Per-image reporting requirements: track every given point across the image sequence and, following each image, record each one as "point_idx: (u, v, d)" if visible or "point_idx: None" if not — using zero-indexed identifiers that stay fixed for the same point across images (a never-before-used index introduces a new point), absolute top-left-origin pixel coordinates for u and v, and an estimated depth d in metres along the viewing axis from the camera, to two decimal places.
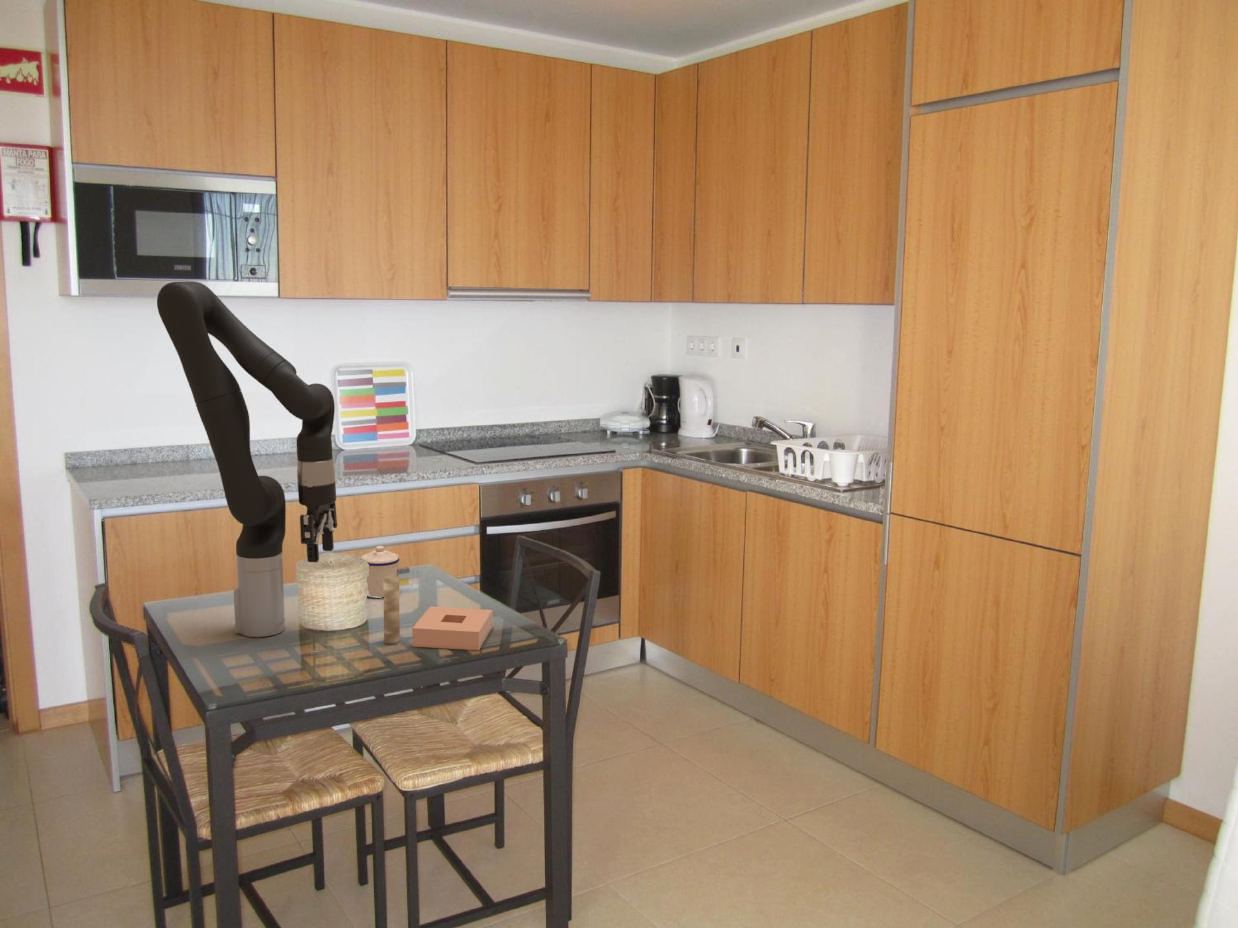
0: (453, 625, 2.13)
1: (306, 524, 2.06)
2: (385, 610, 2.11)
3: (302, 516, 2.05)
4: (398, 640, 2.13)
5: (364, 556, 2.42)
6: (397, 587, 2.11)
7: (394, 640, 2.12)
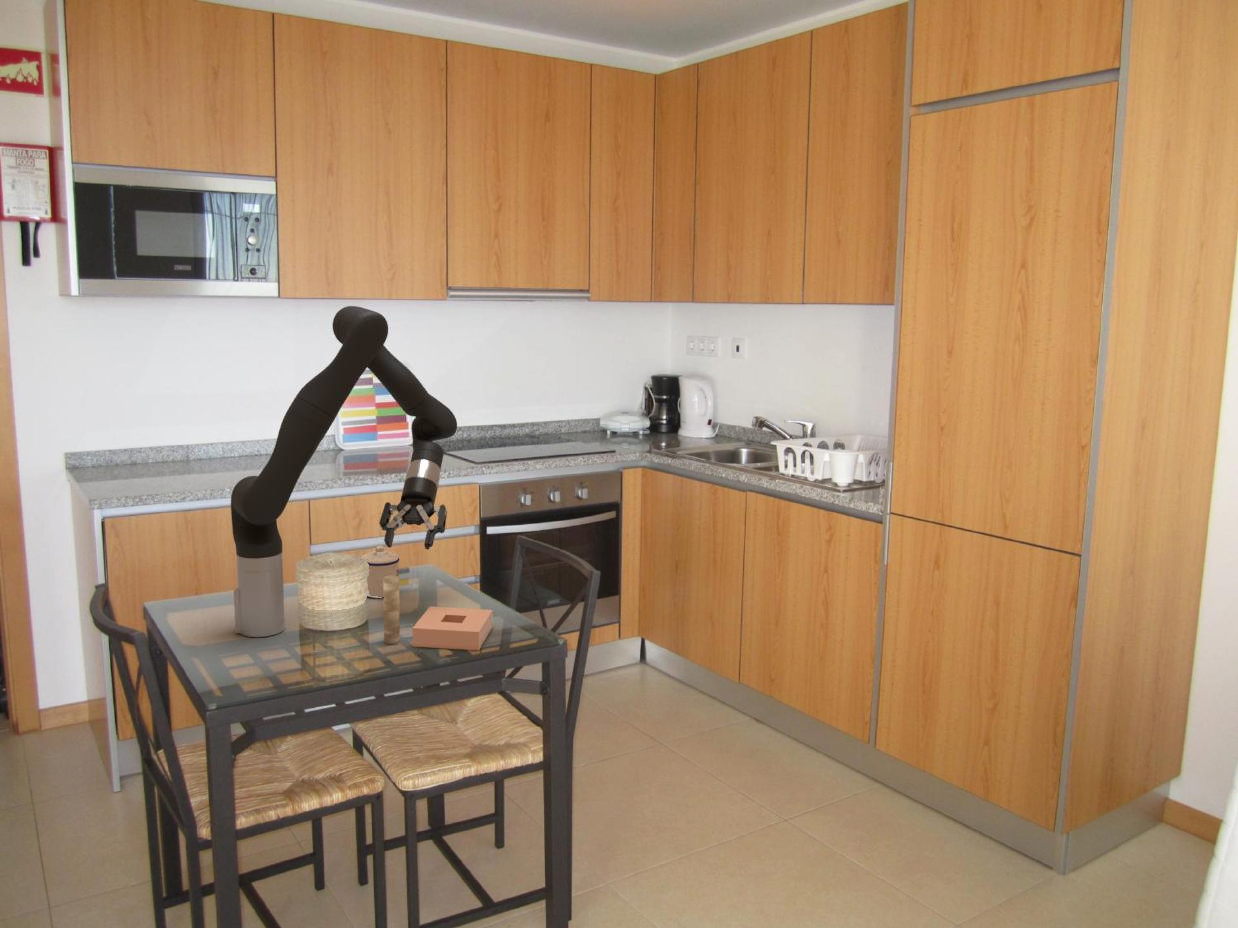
0: (453, 625, 2.13)
1: (444, 514, 2.26)
2: (385, 610, 2.11)
3: (444, 506, 2.26)
4: (398, 640, 2.13)
5: (364, 556, 2.42)
6: (397, 587, 2.11)
7: (394, 640, 2.12)
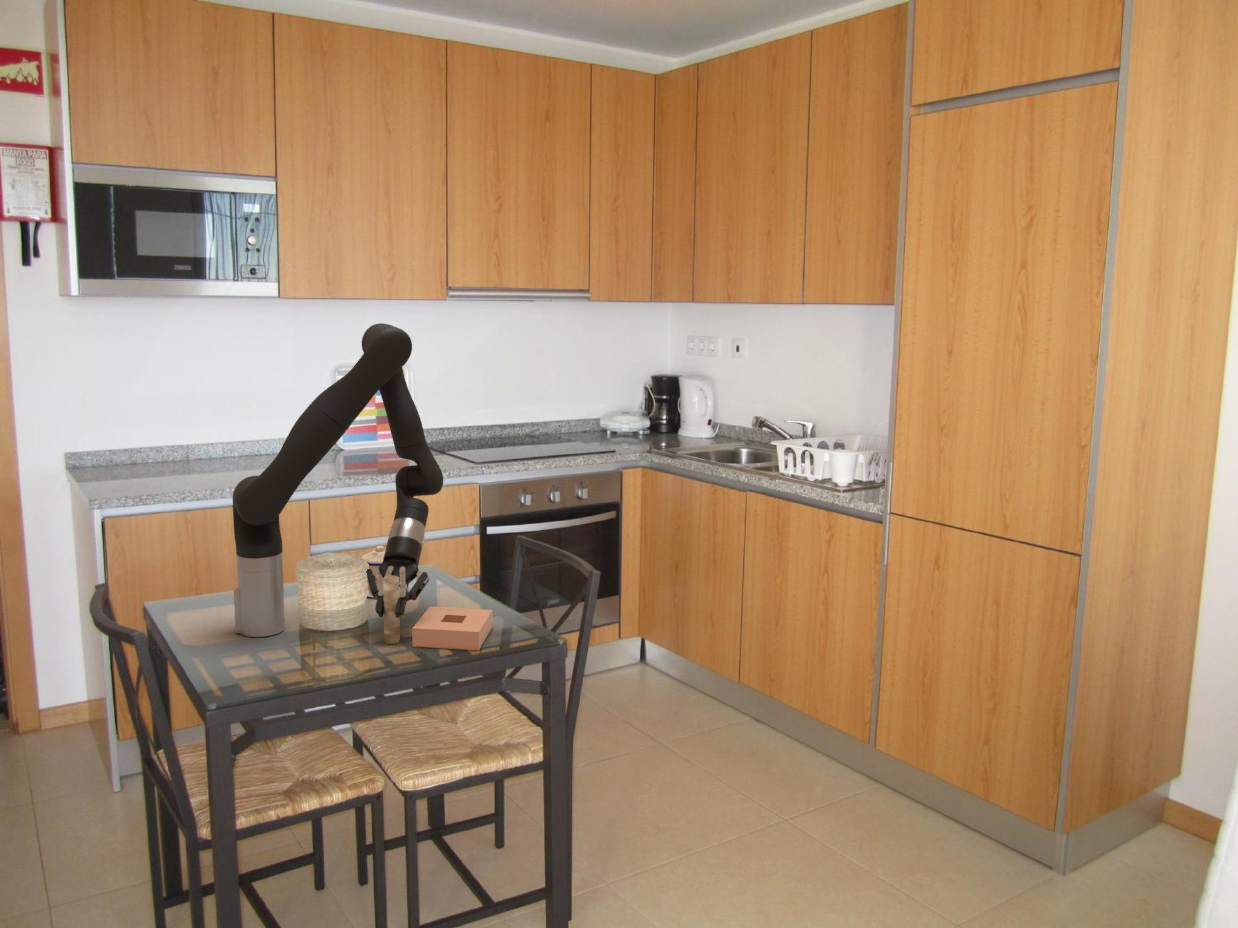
0: (453, 625, 2.13)
1: (423, 582, 2.15)
2: (385, 610, 2.11)
3: (427, 574, 2.15)
4: (398, 640, 2.13)
5: (364, 556, 2.42)
6: (397, 587, 2.11)
7: (394, 640, 2.12)
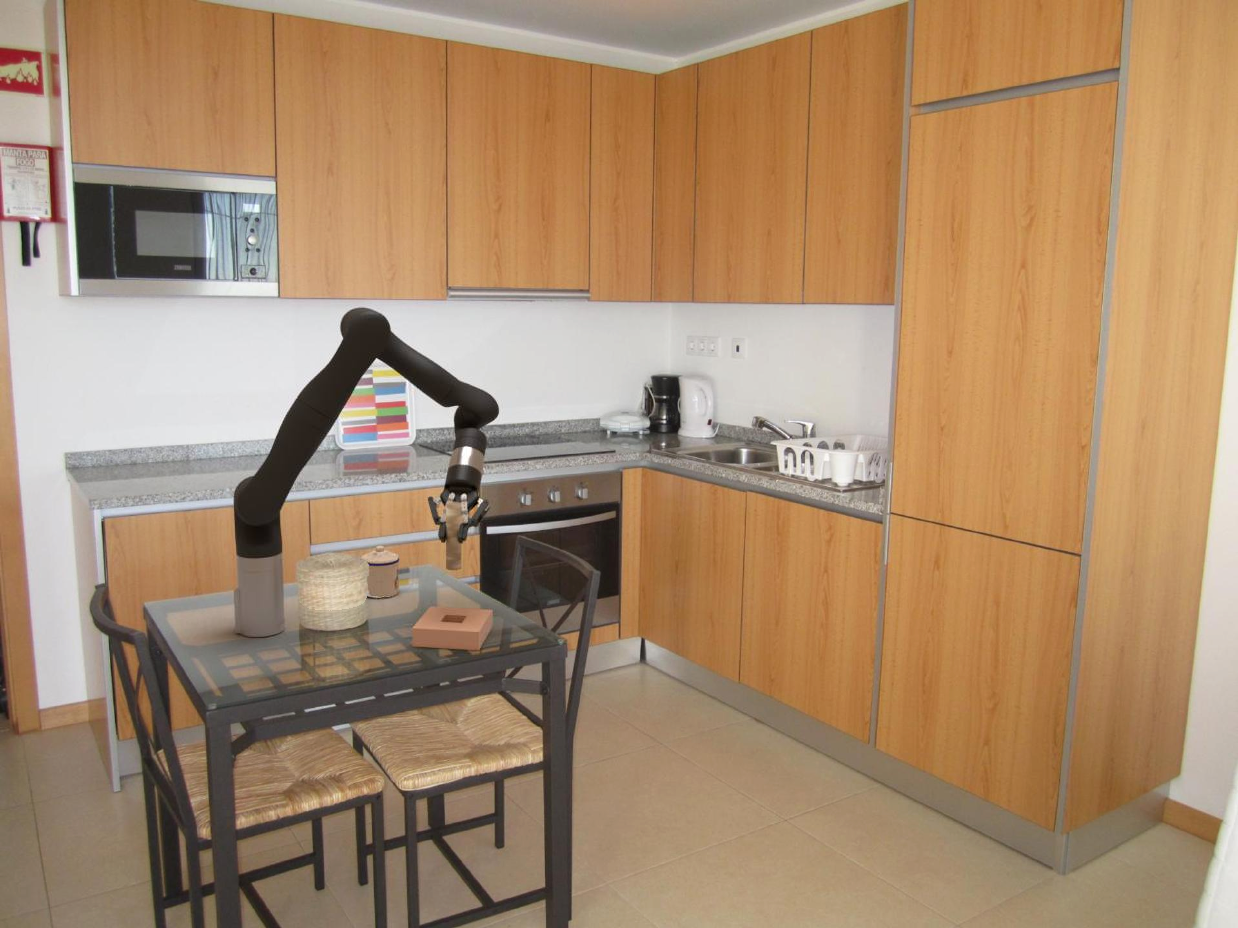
0: (453, 625, 2.13)
1: (485, 509, 2.16)
2: (448, 536, 2.12)
3: (488, 502, 2.16)
4: (460, 566, 2.14)
5: (364, 556, 2.42)
6: (460, 513, 2.12)
7: (456, 566, 2.13)
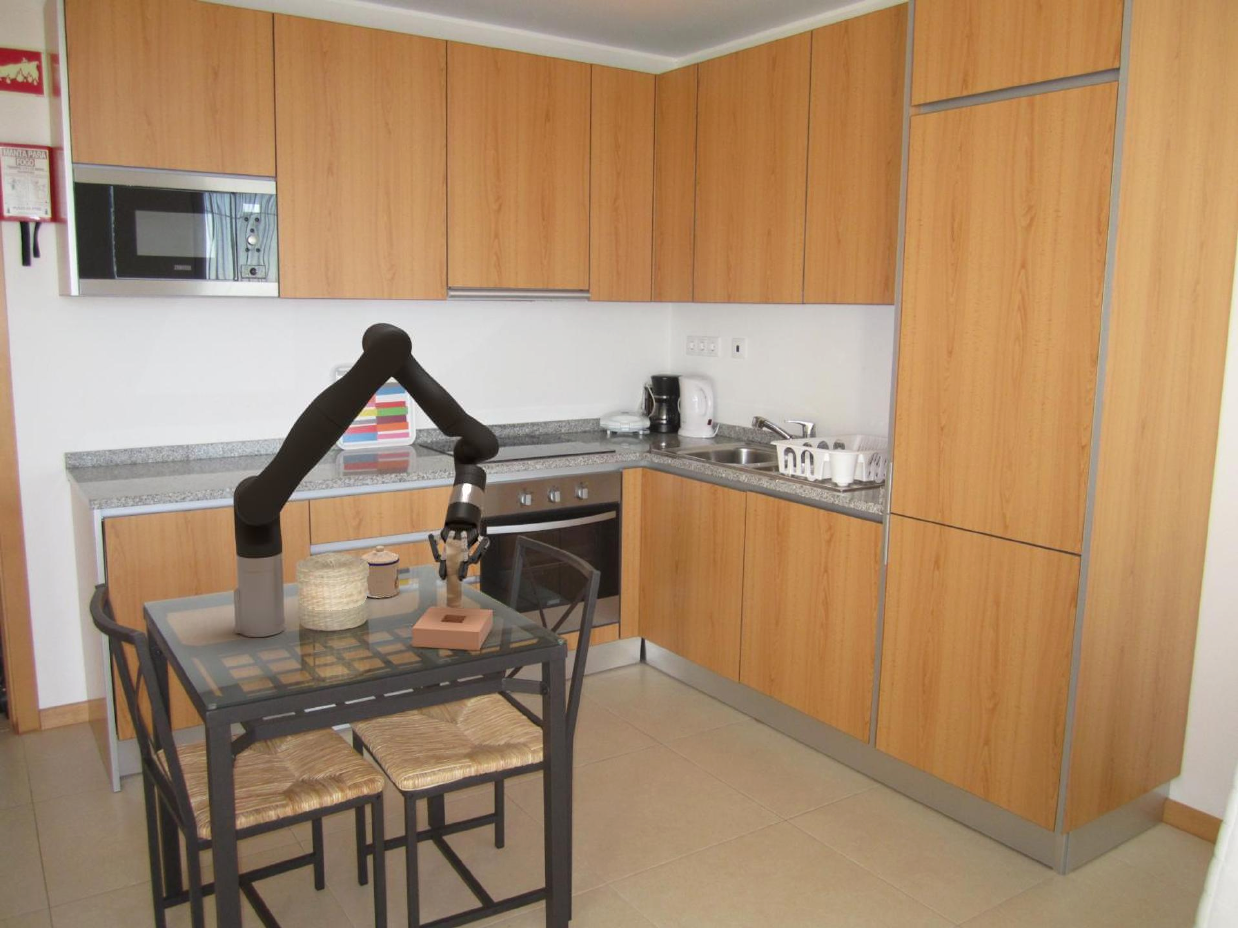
0: (453, 625, 2.13)
1: (485, 547, 2.17)
2: (448, 574, 2.14)
3: (488, 539, 2.17)
4: (460, 603, 2.16)
5: (364, 556, 2.42)
6: (460, 551, 2.14)
7: (457, 603, 2.15)
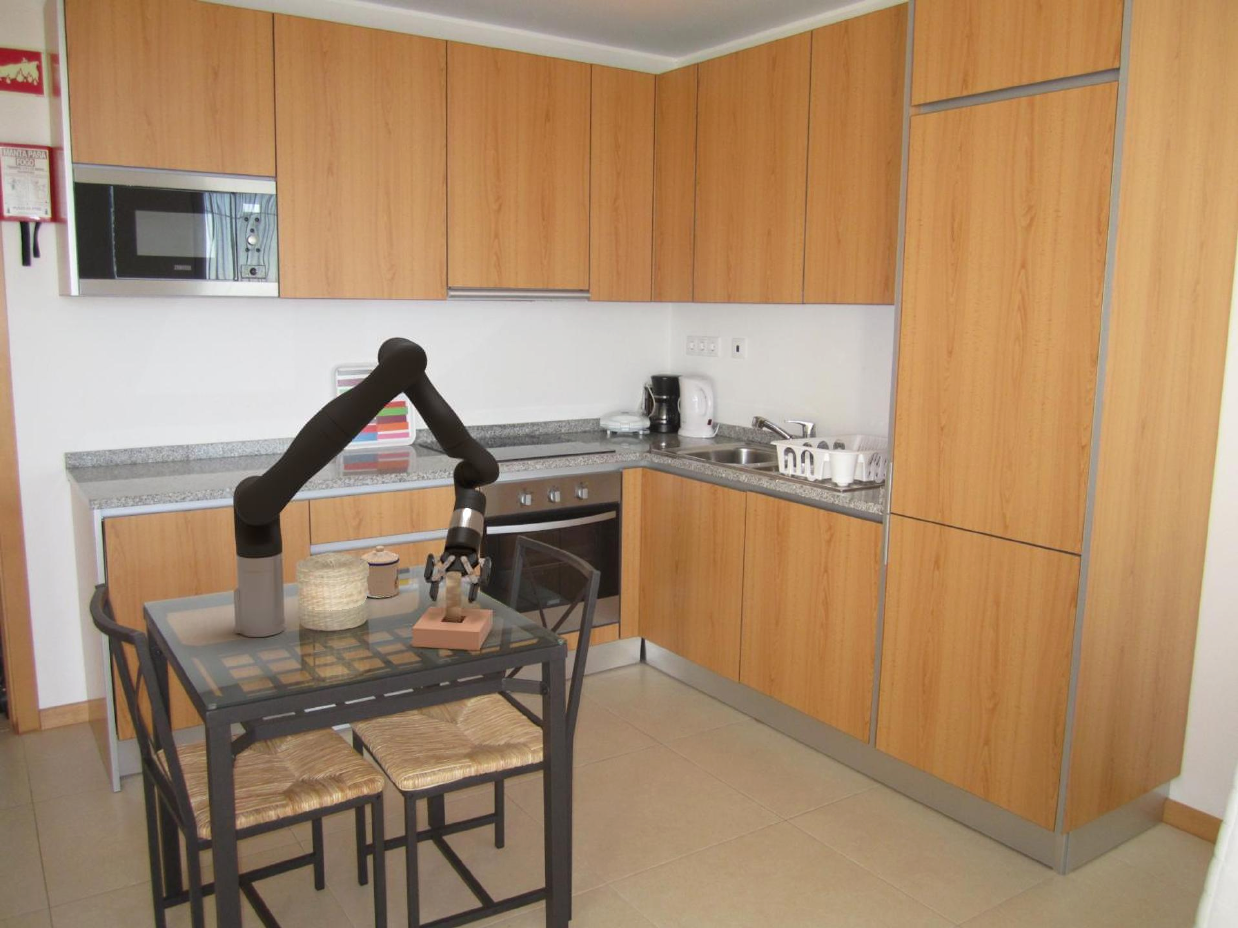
0: (453, 625, 2.13)
1: (489, 567, 2.19)
2: (448, 605, 2.15)
3: (489, 558, 2.19)
4: None
5: (364, 556, 2.42)
6: (459, 583, 2.15)
7: None
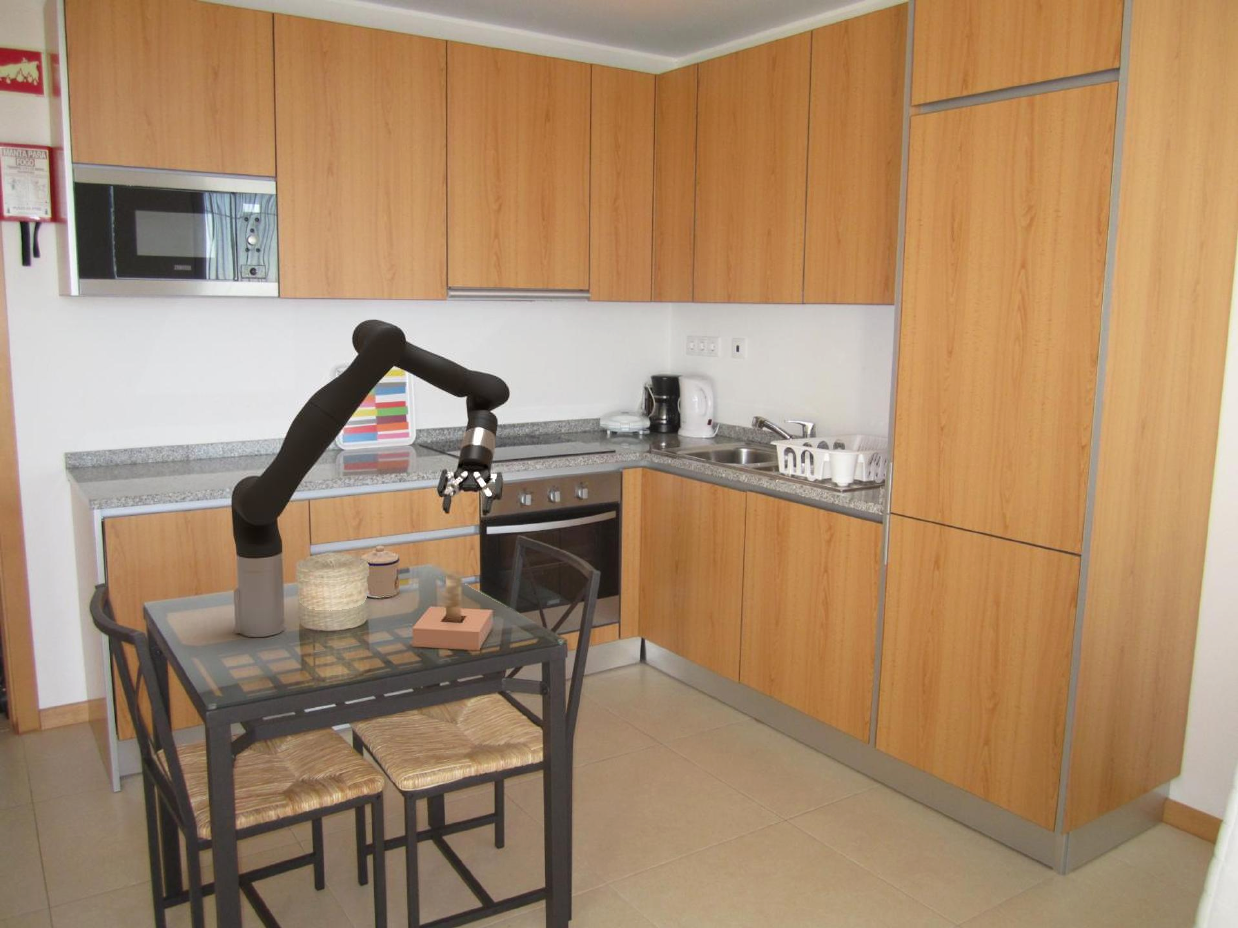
0: (453, 625, 2.13)
1: None
2: (448, 605, 2.15)
3: (501, 473, 2.28)
4: None
5: (364, 556, 2.42)
6: (459, 583, 2.15)
7: None
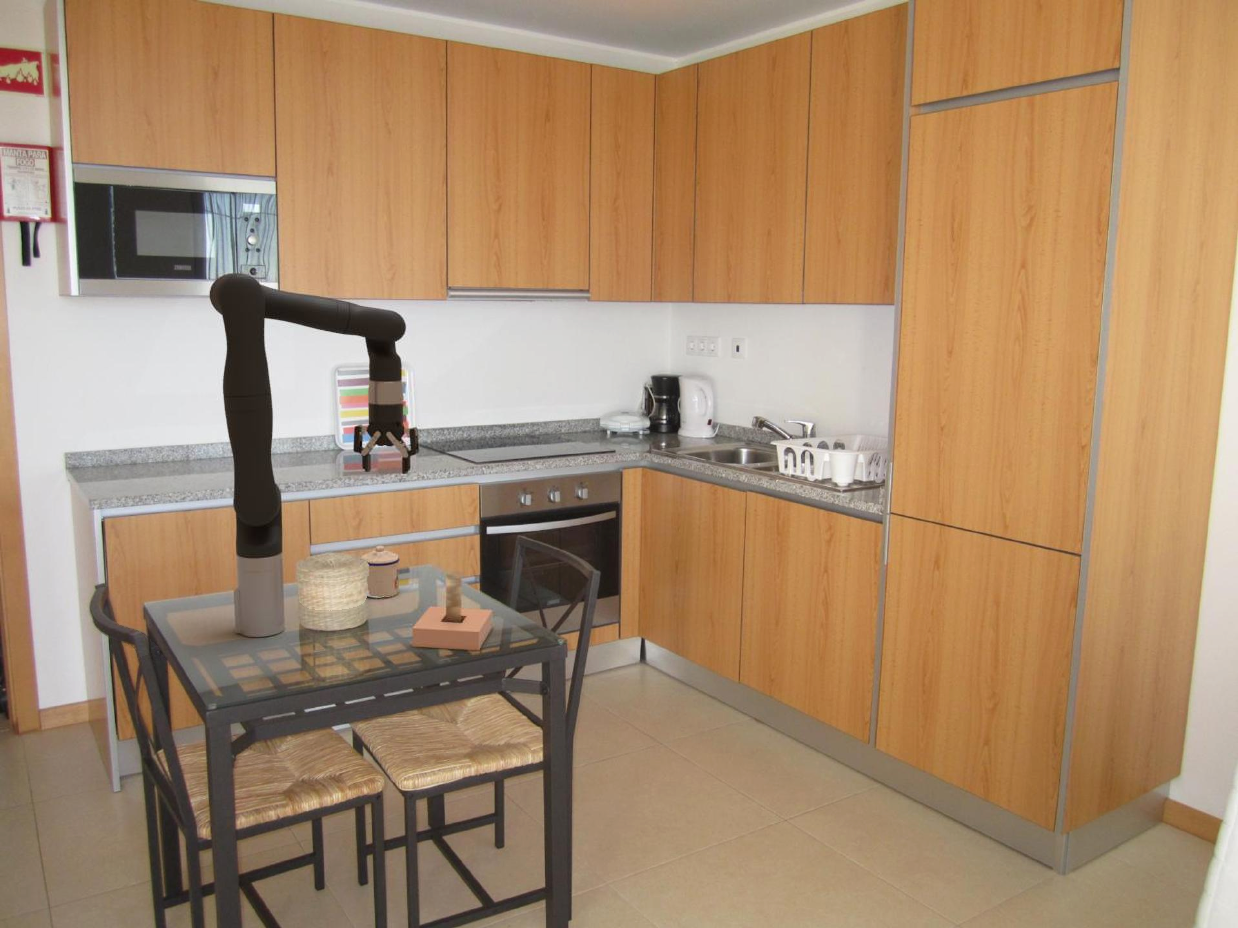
0: (453, 625, 2.13)
1: (415, 436, 2.26)
2: (448, 605, 2.15)
3: (414, 429, 2.25)
4: None
5: (364, 556, 2.42)
6: (459, 583, 2.15)
7: None
